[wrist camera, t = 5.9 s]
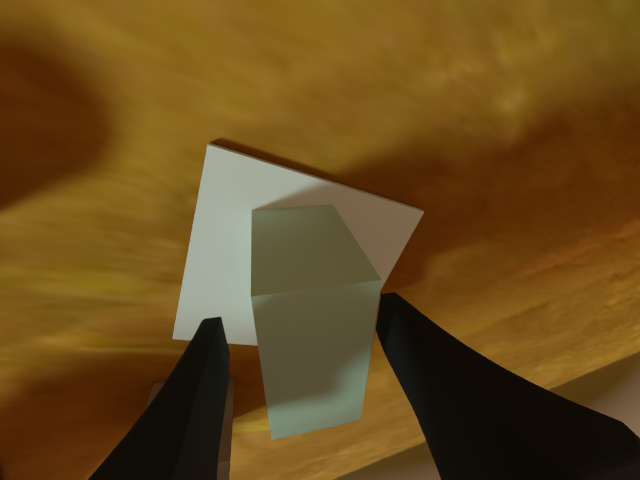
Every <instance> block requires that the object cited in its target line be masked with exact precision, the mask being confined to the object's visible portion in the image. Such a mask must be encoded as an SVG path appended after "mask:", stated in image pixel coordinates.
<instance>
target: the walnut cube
mask: <svg viewBox="0 0 640 480" xmlns="http://www.w3.org/2000/svg"><path fill="white" fill-rule="evenodd" d="M164 383H165V382H160V383H153V386H152V389H151V392H150V395H149V398H148V401H147V404H146V407H145V410H146V409H147V407H148V406H149V405H150V403H151V402H152V400H153V399H154V398H155V396H156V395H157V393H158V392H159V390H160V389H161V387H162V386H163V385H164ZM234 387H235V377H232V378H229V382H228V390H227V397H226V404H225V412H224V419H223V426H222V433H221V440H220V447H219V457H218V469H217V480H229V471H230V456H231V439H232V422H233V404H234ZM145 410H144V411H145Z"/></svg>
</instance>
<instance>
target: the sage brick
mask: <svg viewBox="0 0 640 480" xmlns="http://www.w3.org/2000/svg"><path fill="white" fill-rule="evenodd" d="M381 284H382V279H381V278H380V276H379V274H378V273H377V271H376V270H375V268H374V267H373V265H372V264H371V262H370V261H369V259H368V258H367V256H366V255H365V253H364V252H363V250H362V249H361V247H360V246H359V244H358V242H357V241H356V239H355V238H354V236H353V235H352V233H351V232H350V230H349V229H348V227H347V226H346V224H345V223H344V221H343V220H342V218H341V217H340V215H339V214H338V212H337V210H336V209H335V207H334V206H333V204H331V205H316V206H302V207H288V208H274V209H259V210H251V303H252V310H253V316H254V323H255V330H256V337H257V344H258V351H259V357H260V364H261V371H262V378H263V385H264V392H265V399H266V405H267V412H268V419H269V426H270V433H271V440H275V439H279V438H284V437H288V436H292V435H297V434H301V433H306V432H310V431H315V430H319V429H324V428H328V427H332V426H337V425H341V424H346V423H350V422H355V421H359V420H361V413H362V407H363V400H364V394H365V387H366V381H367V374H368V368H369V362H370V355H371V349H372V342H373V336H374V329H375V323H376V316H377V310H378V304H379V297H380V291H381Z"/></svg>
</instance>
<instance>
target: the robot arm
mask: <svg viewBox="0 0 640 480" xmlns="http://www.w3.org/2000/svg"><path fill="white" fill-rule="evenodd" d="M376 331H377V334H378V337H379V340H380V343H381V345H382V348H383V350H384V353H385V355H386V357H387V359H388V361H389V363H390V365H391V367H392V369H393V371H394V373H395V375H396V377H397V378H398V380H399V382H400V384H401V386H402V388H403V390H404V392H405V394H406V396H407V398H408V400H409V402H410V404H411V406H412V408H413V410H414V412H415V414H416V416H417V419H418V421H419V424H420V426H421V429H422V431H423V433H424V436H425V438H426V441H427V443H428V446H429V448H430V451H431V453H432V456H433V459H434V461H435V464H436V466H437V469H438V472H439V475H440V477H441V480H640V438H639V437H638V436H637V435H636V434H635V433H634V432H633V431H631V430H630V429H629V428H628V427H627V426H626V425H625V424H624V423H622V422H621V421H619V420H616V419H614V418H611V417H608V416H606V415H604V414H601V413H599V412H596V411H594V410H592V409H589V408H587V407H584V406H582V405H579V404H576V403H574V402H572V401H570V400H568V399H565V398H563V397H561V396H559V395H557V394H554V393H552V392H550V391H548V390H546V389H544V388H542V387H540V386H538V385H535V384H533V383H531V382H529V381H527V380H525V379H524V378H522V377H520V376H518V375H516V374H514V373H512V372H510V371H508V370H506V369H505V368H503V367H501V366H499V365H497V364H496V363H494V362H492V361H491V360H489V359H487V358H486V357H484V356H482V355H481V354H479V353H477V352H476V351H474V350H473V349H471V348H469V347H468V346H466V345H465V344H463V343H462V342H460V341H459V340H457V339H456V338H455V337H453V336H452V335H450V334H449V333H447V332H446V331H445V330H443V329H442V328H440V327H439V326H438V325H436V324H435V323H434V322H432V321H431V320H430V319H428V318H427V317H426V316H425V315H423V314H422V313H421V312H419V311H418V310H417V309H416V308H414V307H413V306H412V305H411V304H409V303H408V302H407V301H406V300H404V299H403V298H402V297H400V296H399V295H398V294H397V293H395V292H393V293H386V294H381V299H380V305H379V312H378V318H377V325H376ZM229 355H230V353H229V349H228V344H227V340H226V336H225V331H224V327H223V322H222V318H221V317H214V318H206V319H203V320H202V321H201V323H200V325H199V327H198V329H197V331H196V333H195V334H194V336H193V338H192V340H191V342H190V343H189V345H188V347H187V348H186V350H185V352H184V354H183V355H182V357H181V358H180V360H179V362H178V363H177V365H176V366H175V368H174V370H173V371H172V373H171V374H170V376H169V377H168V379H167V380H166V382H165V383H164V385H163V386H162V387H161V389H160V390H159V392H158V393H157V395H156V396H155V398H154V399H153V400H152V402H151V403H150V405H149V406H148V407H147V409H146V410H145V411H144V413H143V414H142V415H141V417H140V418H139V419H138V420H137V422H136V423H135V424H134V426H133V427H132V428H131V429H130V431H129V432H128V433H127V434H126V436H125V437H124V438H123V439H122V440H121V442H120V443H119V444H118V445H117V446H116V448H115V449H114V450H113V451H112V452H111V454H110V455H109V456H108V457H107V458H106V459H105V461H104V462H103V463H102V464H101V465H100V466H99V468H98V469H97V470H96V471H95V472H94V473H93V474H92V475H91V477H90V478H89V479H88V480H217V469H218V457H219V447H220V440H221V433H222V426H223V419H224V412H225V404H226V397H227V390H228V382H229Z"/></svg>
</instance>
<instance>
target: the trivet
mask: <svg viewBox="0 0 640 480" xmlns="http://www.w3.org/2000/svg"><path fill="white" fill-rule="evenodd" d="M331 204H333V206H334V207H335V209H336V210H337V212H338V214H339V215H340V217H341V218H342V220H343V221H344V223H345V224H346V226H347V227H348V229H349V230H350V232H351V233H352V235H353V236H354V238H355V239H356V241H357V242H358V244H359V246H360V247H361V249H362V250H363V252H364V253H365V255H366V256H367V258H368V259H369V261H370V262H371V264H372V265H373V267H374V268H375V270H376V271H377V273H378V274H379V276H380V278H381V279H382V284H381V289H382V287H383V285H384V283H385V282H386V280H387V278H388V276H389V275H390V273H391V271H392V269H393V267H394V266H395V264H396V262H397V260H398V258H399V257H400V255H401V253H402V251H403V249H404V248H405V246H406V244H407V242H408V240H409V239H410V237H411V235H412V233H413V231H414V230H415V228H416V226H417V224H418V222H419V221H420V219H421V217H422V215H423V214H424V211H423V210H421V209H420V208H416V207H413V206H410V205H407V204H404V203H400V202H397V201H394V200H391V199H388V198H385V197H381V196H378V195H375V194H372V193H369V192H365V191H362V190H359V189H356V188H353V187H349V186H346V185H343V184H340V183H337V182H333V181H330V180H327V179H324V178H321V177H318V176H314V175H311V174H308V173H305V172H302V171H298V170H295V169H292V168H289V167H286V166H282V165H279V164H276V163H273V162H270V161H267V160H263V159H260V158H257V157H254V156H251V155H247V154H244V153H241V152H238V151H235V150H231V149H228V148H225V147H222V146H219V145H215V144H212V143H208V145H207V151H206V156H205V162H204V167H203V173H202V178H201V184H200V189H199V195H198V200H197V206H196V211H195V217H194V222H193V228H192V233H191V238H190V244H189V249H188V255H187V260H186V266H185V271H184V277H183V282H182V288H181V293H180V299H179V304H178V310H177V315H176V321H175V326H174V332H173V337H172V339H178V340H192V338H193V336H194V334H195V333H196V331H197V329H198V327H199V325H200V323H201V321H202V320H203V319H206V318H214V317H221V318H222V322H223V327H224V331H225V336H226V340H227V343H230V344H242V345H255V346H258V344H257V337H256V330H255V323H254V316H253V310H252V303H251V210H259V209H274V208H288V207H302V206H316V205H331Z"/></svg>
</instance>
